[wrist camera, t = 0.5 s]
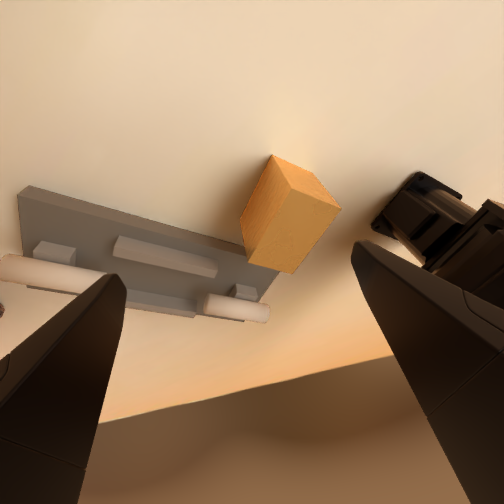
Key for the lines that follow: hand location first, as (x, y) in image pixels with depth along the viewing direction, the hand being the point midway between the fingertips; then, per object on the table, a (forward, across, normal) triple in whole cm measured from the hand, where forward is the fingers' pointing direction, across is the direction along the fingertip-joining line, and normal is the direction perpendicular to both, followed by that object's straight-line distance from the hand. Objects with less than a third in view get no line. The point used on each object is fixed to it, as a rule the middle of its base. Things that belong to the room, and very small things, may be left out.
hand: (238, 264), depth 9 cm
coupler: (+13, -4, +4) cm, 14 cm away
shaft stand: (+12, +8, +10) cm, 18 cm away
